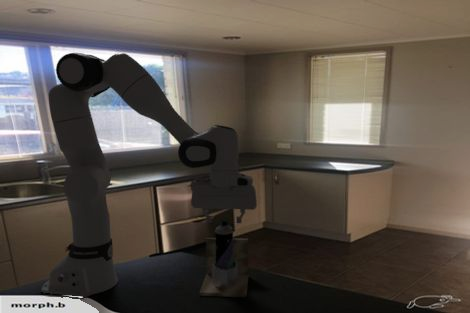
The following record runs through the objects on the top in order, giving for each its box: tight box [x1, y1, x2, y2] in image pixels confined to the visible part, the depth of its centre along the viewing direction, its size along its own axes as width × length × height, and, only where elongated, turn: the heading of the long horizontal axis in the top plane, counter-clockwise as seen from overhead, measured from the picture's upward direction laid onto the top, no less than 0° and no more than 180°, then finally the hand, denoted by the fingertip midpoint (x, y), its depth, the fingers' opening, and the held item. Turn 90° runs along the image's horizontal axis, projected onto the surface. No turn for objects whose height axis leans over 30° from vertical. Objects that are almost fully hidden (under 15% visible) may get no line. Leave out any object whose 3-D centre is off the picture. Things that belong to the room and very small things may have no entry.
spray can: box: [214, 219, 234, 269], centre depth 111 cm, size 6×6×20 cm
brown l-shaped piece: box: [198, 237, 250, 298], centre depth 111 cm, size 14×14×13 cm
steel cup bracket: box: [212, 260, 238, 289], centre depth 112 cm, size 8×10×6 cm
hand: (223, 222), depth 110 cm, fingers open, 8 cm apart
